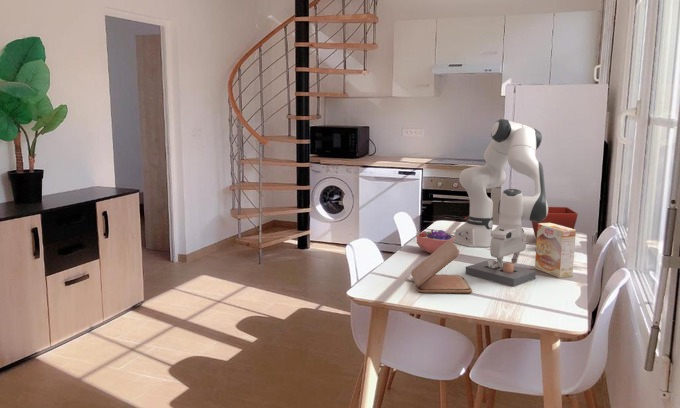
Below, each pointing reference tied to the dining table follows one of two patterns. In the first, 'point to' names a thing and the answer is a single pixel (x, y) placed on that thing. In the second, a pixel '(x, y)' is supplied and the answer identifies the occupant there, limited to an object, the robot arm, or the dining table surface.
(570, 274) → the coffeecake box
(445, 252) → the case
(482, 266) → the housing
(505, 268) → the tan oval egg shape
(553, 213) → the plant pot
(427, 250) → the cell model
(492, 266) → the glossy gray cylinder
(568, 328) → the dining table surface
